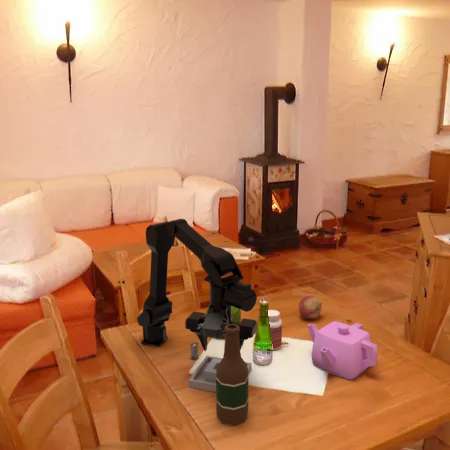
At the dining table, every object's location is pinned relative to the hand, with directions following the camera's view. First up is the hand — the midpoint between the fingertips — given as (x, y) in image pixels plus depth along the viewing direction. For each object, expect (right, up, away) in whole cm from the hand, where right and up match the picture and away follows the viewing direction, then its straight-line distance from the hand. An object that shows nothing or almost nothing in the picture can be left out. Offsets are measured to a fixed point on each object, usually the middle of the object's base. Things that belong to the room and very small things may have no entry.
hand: (221, 353), depth 139 cm
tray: (0, -7, +2) cm, 8 cm away
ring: (0, -7, +2) cm, 7 cm away
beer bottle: (+3, -12, -14) cm, 19 cm away
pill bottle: (+15, -3, +20) cm, 25 cm away
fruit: (+30, +2, +38) cm, 49 cm away
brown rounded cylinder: (-8, -5, +13) cm, 16 cm away
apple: (0, -1, +28) cm, 29 cm away
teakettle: (+34, -6, +9) cm, 35 cm away
